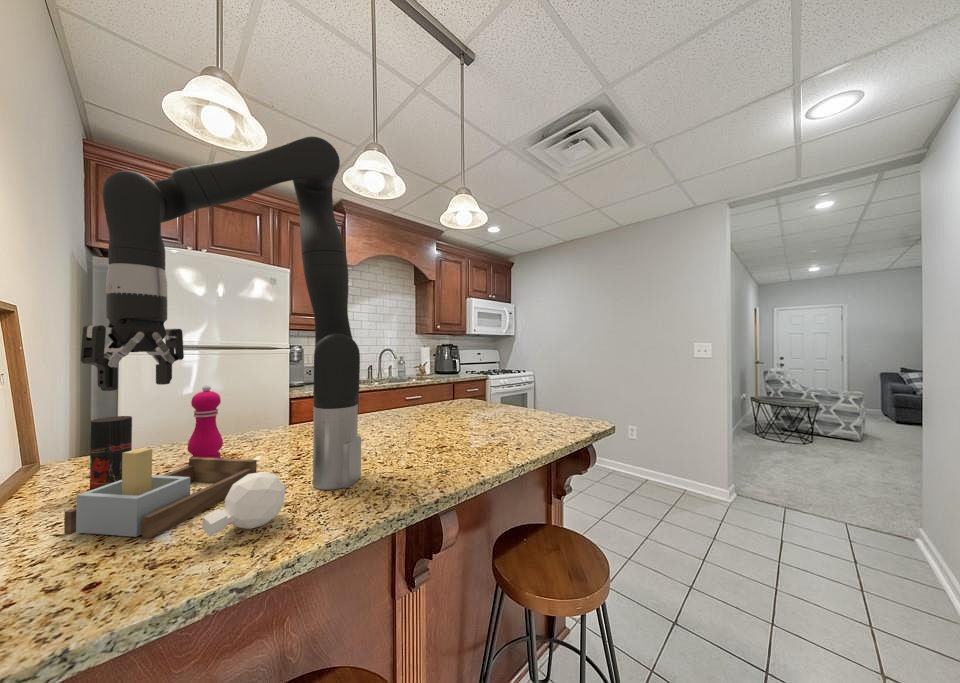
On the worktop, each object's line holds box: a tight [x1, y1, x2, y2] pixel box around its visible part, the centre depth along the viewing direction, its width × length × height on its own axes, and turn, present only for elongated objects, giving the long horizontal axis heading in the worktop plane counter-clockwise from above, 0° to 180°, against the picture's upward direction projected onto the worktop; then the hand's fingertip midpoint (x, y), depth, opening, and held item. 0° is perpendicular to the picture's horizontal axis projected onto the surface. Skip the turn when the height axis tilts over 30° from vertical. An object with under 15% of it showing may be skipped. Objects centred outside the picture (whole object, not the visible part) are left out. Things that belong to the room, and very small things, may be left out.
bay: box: [63, 457, 258, 540], centre depth 66 cm, size 15×23×5 cm
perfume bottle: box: [201, 471, 286, 537], centre depth 58 cm, size 9×9×12 cm
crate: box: [75, 447, 191, 538], centre depth 60 cm, size 11×9×12 cm
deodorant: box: [89, 415, 133, 491], centre depth 72 cm, size 6×6×15 cm
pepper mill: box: [187, 385, 224, 459], centre depth 90 cm, size 7×7×20 cm
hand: (138, 387), depth 60 cm, fingers open, 8 cm apart
